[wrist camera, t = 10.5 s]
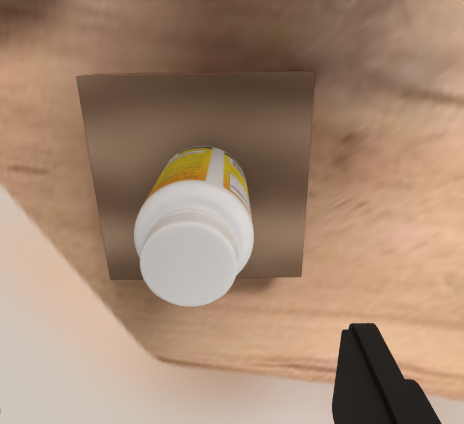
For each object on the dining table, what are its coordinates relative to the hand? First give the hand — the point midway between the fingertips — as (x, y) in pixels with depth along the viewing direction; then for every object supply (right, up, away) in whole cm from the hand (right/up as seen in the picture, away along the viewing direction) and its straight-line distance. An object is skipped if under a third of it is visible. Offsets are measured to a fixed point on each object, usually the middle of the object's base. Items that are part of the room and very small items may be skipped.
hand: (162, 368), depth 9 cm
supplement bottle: (0, +6, +15) cm, 16 cm away
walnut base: (0, +7, +18) cm, 20 cm away
